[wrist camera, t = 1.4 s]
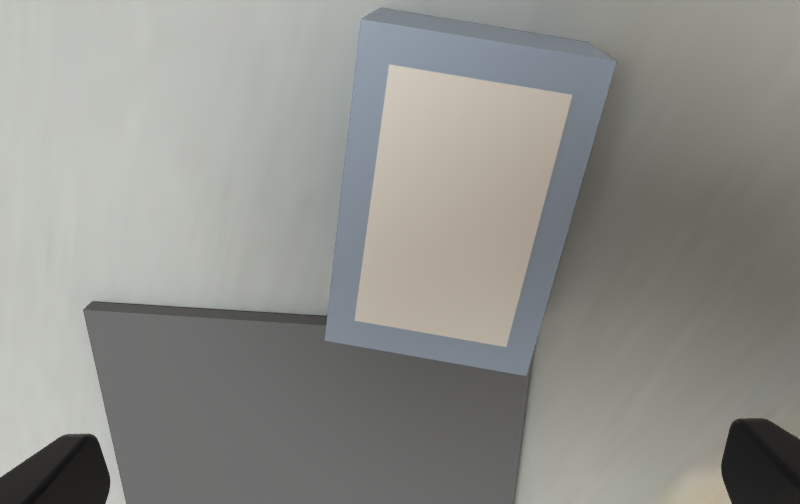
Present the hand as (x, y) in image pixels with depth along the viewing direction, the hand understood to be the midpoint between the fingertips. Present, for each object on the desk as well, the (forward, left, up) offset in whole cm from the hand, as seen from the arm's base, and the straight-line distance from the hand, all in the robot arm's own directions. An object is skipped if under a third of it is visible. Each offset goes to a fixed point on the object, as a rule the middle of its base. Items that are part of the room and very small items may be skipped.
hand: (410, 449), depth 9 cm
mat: (+5, +10, -12) cm, 17 cm away
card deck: (0, 0, -13) cm, 13 cm away
